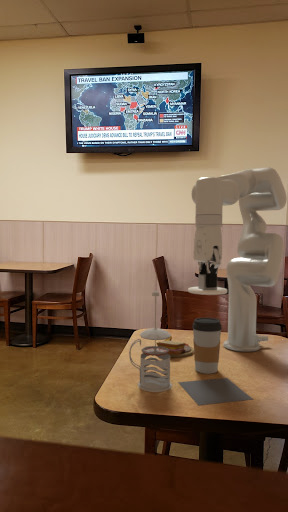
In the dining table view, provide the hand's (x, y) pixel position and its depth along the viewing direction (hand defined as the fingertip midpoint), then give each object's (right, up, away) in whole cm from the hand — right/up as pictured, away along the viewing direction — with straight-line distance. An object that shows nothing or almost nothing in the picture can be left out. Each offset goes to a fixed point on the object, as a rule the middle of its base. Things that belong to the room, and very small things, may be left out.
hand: (207, 285), depth 109 cm
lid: (0, -2, 0) cm, 2 cm away
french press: (-16, -26, -10) cm, 32 cm away
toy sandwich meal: (-8, -24, +20) cm, 32 cm away
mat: (-1, -26, -13) cm, 29 cm away
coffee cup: (0, -25, +1) cm, 25 cm away
